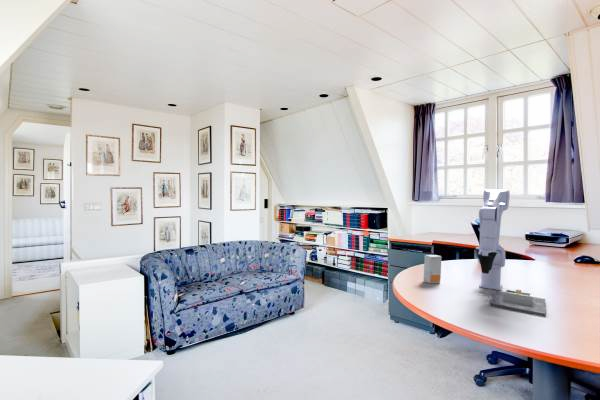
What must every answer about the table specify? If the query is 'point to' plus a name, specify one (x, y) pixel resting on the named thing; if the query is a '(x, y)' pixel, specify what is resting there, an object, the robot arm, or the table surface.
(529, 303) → the link
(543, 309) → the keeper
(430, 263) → the skincare box
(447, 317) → the table surface
